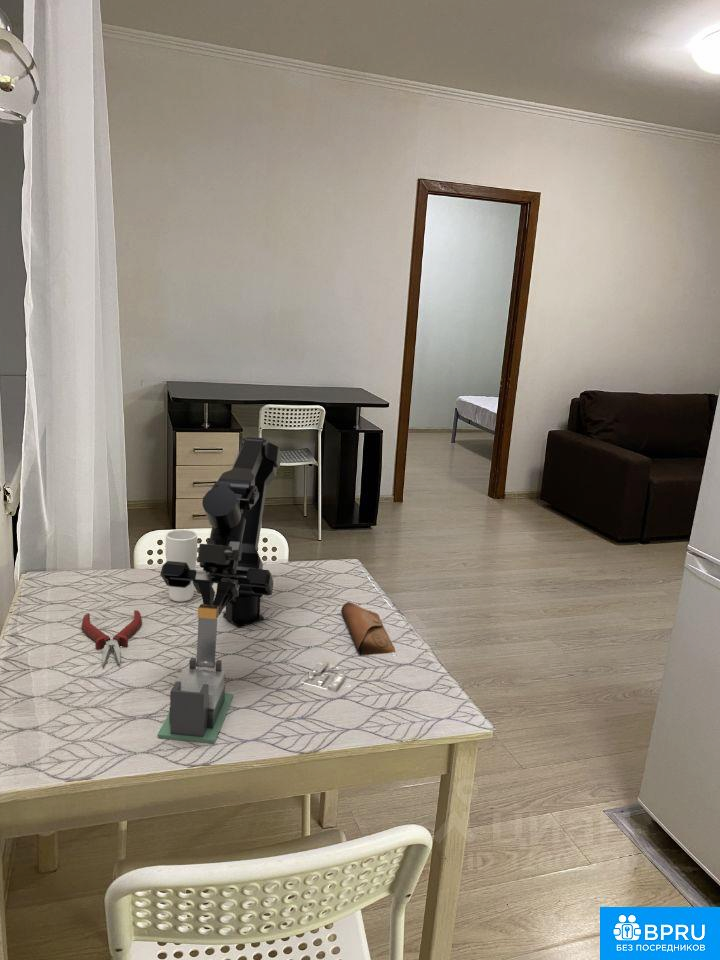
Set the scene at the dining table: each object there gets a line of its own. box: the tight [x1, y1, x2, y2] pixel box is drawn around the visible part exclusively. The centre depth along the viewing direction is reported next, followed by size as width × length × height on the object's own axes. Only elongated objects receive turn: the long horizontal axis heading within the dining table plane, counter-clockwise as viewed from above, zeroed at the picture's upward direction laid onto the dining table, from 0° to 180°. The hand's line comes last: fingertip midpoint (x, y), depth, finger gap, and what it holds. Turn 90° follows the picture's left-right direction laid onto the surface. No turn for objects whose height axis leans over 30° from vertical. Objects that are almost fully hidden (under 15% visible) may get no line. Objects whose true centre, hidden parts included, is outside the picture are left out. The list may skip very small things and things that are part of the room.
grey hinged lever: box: [196, 603, 219, 669], centre depth 119 cm, size 2×3×11 cm, turn 87°
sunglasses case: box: [340, 601, 396, 656], centre depth 149 cm, size 18×7×7 cm, turn 13°
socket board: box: [156, 657, 234, 744], centre depth 116 cm, size 13×9×8 cm
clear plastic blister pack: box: [300, 661, 347, 693], centre depth 132 cm, size 8×7×2 cm
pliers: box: [81, 609, 143, 668], centre depth 138 cm, size 12×20×3 cm, turn 18°
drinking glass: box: [165, 528, 198, 603], centre depth 157 cm, size 7×7×15 cm
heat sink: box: [168, 667, 226, 729], centre depth 117 cm, size 8×7×6 cm
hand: (208, 626), depth 120 cm, fingers closed, pressing on grey hinged lever
